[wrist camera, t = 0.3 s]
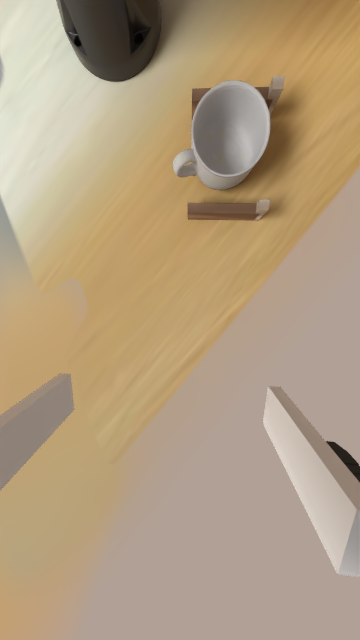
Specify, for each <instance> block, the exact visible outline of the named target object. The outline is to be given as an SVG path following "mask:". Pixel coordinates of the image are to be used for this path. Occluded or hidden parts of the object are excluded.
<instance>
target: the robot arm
mask: <svg viewBox="0 0 360 640" xmlns="http://www.w3.org/2000/svg"><path fill="white" fill-rule="evenodd" d="M56 1H57V5H58V9H59V12H60V16H61V20H62V23H63V26H64V29H65V32H66V34H67V37H68V39H69V41H70V43H71V45H72V47H73V49H74V51H75V53H76V55H77V56H78V58H79V60H80V61H81V63H82V64H83V65H84V66H85V67H86V68H87V69H88V70H89V71H90V72H91V73H92V74H94V75H95V76H97V77H99V78H101V79H104V80H108V81H121V80H125V79H128V78H130V77H132V76H134V75H136V74H137V73H138V72H140V71H141V70H142V69H143V68H144V67H145V66H146V64H147V63H148V62H149V60H150V59H151V57H152V55H153V53H154V51H155V49H156V46H157V43H158V40H159V36H160V30H161V9H160V1H159V0H56ZM73 410H74V403H73V393H72V382H71V374H61V373H60V374H58V375H57V376H56V377H54V378H53V379H51V380H50V381H48V382H47V383H46V384H44V385H43V386H41V387H40V388H39V389H37V390H36V391H34V392H33V393H31V394H30V395H28V396H27V397H26V398H24V399H23V400H22V401H20V402H19V403H17V404H16V405H14V406H13V407H11V408H10V409H9V410H7V411H6V412H4V413H3V414H1V415H0V490H1V489H2V488H3V487H4V486H5V485H6V484H7V483H8V482H9V481H10V479H11V478H12V477H13V476H14V475H15V474H16V473H17V472H18V471H19V470H20V468H21V467H22V466H23V465H24V464H25V463H26V462H27V461H28V460H29V459H30V458H31V456H32V455H33V454H34V453H35V452H36V451H37V450H38V449H39V448H40V447H41V445H42V444H43V443H44V442H45V441H46V440H47V439H48V438H49V437H50V436H51V435H52V433H53V432H54V431H55V430H56V429H57V428H58V427H59V426H60V425H61V424H62V422H63V421H64V420H65V419H66V418H67V417H68V416H69V415H70V414H71V413H72V412H73ZM263 424H264V426H265V428H266V430H267V433H268V435H269V437H270V438H271V440H272V443H273V445H274V447H275V448H276V451H277V453H278V455H279V457H280V459H281V461H282V463H283V465H284V467H285V469H286V471H287V473H288V475H289V477H290V479H291V481H292V483H293V485H294V487H295V489H296V491H297V493H298V495H299V497H300V499H301V501H302V503H303V505H304V507H305V509H306V511H307V513H308V515H309V517H310V519H311V521H312V523H313V525H314V527H315V529H316V532H317V534H318V535H319V537H320V540H321V542H322V544H323V546H324V548H325V550H326V552H327V554H328V556H329V558H330V560H331V562H332V564H333V566H334V568H335V570H336V572H337V574H340V575H348V576H357V577H360V466H359V464H358V463H357V462H356V461H355V460H354V458H352V456H351V455H350V454H349V453H348V452H347V451H346V450H344V449H343V448H342V447H340V446H339V445H338V444H336V443H335V442H328V441H325V440H324V439H323V438H322V436H321V435H320V434H319V433H318V432H317V430H316V429H315V428H314V427H313V426H312V425H311V423H310V422H309V421H308V420H307V419H306V417H305V416H304V415H303V414H302V412H301V411H300V410H299V409H298V407H297V406H296V405H295V404H294V403H293V401H292V400H291V399H290V398H289V397H288V396H287V394H286V393H285V392H284V391H283V389H282V388H281V387H273V386H268V391H267V398H266V405H265V413H264V419H263Z"/></svg>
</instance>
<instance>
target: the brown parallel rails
mask: <svg viewBox="0 0 360 640" xmlns="http://www.w3.org/2000/svg"><path fill="white" fill-rule="evenodd" d="M284 77H285V76H273V79H272V81H271V84H270V86H269V87H255V88H256V89H257V90H258V91H259V92H260V93H261V95H262V96H263V98H264V99H265V102H266V104H267V106H268V110H269V113H270V116H271V114H272V111H273V109H274V107H275V105H276V103H277V101H278V99H279V97H280V94H281V92H282V90H283V85H284ZM209 90H211V88H202V89H192V120H193V116H194V113H195V110H196V108H197V106H198V103H199V102H200V100H201V99H202V97H203V96H204V95H205V94H206V93H207V92H208V91H209ZM269 203H270V200H259V202H258V203H257V204H249V203H188V219H198V220H257V221H258V220H259V219H260V218H261V217H262V216H263V215H264V214H265V213H266V212H267V211H269Z"/></svg>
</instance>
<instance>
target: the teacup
mask: <svg viewBox="0 0 360 640" xmlns="http://www.w3.org/2000/svg"><path fill="white" fill-rule="evenodd" d="M270 125H271V123H270V113H269V110H268V106H267V104H266V102H265V99H264V98H263V96H262V95H261V93H260V92H259V91H258V90H257V89H256V88H255V87H253V86H252V85H250V84H248V83H246V82H243V81H239V80H228V81H224V82H222V83H219V84H217V85H215V86H214V87H212V88H211V90H209V91H208V92H207V93H206V94H205V95H204V96H203V97H202V99H201V100H200V102H199V103H198V106H197V108H196V110H195V113H194V116H193V120H192V126H191V137H192V148H191V149H187V150H184V151H182V152H181V153H179V154H178V155H177V156H176V157H175V159H174V161H173V169H174V172H175V174H176V175H177V176H179V177H187V176H191V175H193V176H196V175H197V176H198V177H199V179H200V180H201V181H202V182H203V183H204V184H205V185H206V186H208V187H210V188H212V189H216V190H226V189H230V188H232V187H234V186H236V185H238V184H239V183H240V182H242V181H243V180H244V179H245V178H246V176H247V175H248V174H249V173H250V171H251V170H252V168H253V167H254V165H255V164H256V163H257V162H258V161H259V160H260V158H261V157H262V155H263V153H264V151H265V149H266V147H267V144H268V141H269V136H270ZM189 162H193V164H190V165H186V166H184V165H185V164H187V163H189Z"/></svg>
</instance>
